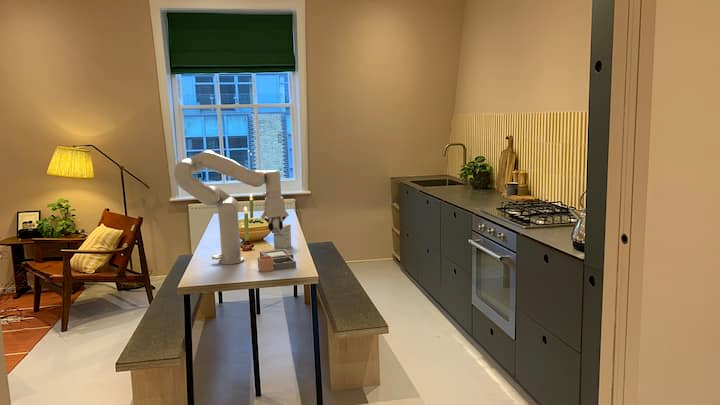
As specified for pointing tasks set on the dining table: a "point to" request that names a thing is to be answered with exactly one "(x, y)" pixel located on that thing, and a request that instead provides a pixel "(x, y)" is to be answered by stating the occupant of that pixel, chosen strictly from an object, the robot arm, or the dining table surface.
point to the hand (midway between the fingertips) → (275, 229)
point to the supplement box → (283, 237)
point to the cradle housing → (277, 255)
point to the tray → (284, 263)
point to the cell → (275, 225)
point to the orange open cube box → (265, 264)
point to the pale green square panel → (276, 253)
